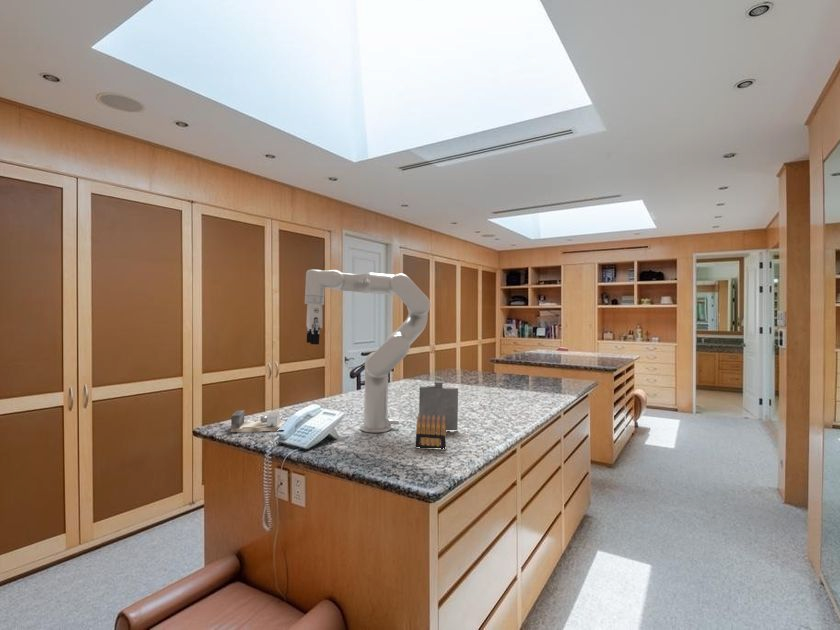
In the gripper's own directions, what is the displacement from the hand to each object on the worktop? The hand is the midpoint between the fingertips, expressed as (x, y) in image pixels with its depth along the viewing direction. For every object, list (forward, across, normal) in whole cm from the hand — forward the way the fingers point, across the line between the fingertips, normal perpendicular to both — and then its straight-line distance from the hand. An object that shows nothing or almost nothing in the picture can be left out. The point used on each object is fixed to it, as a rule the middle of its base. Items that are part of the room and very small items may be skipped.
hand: (312, 343), depth 173 cm
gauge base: (+35, +9, +18) cm, 41 cm away
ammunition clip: (+34, -38, -36) cm, 62 cm away
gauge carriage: (+34, +7, +14) cm, 37 cm away
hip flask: (+34, -17, -49) cm, 62 cm away
